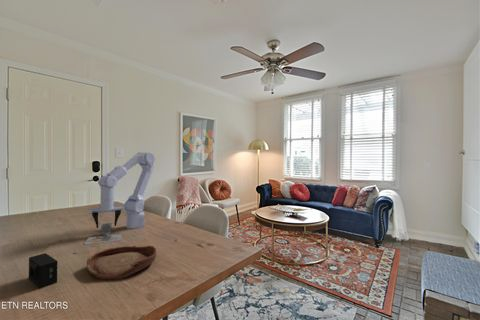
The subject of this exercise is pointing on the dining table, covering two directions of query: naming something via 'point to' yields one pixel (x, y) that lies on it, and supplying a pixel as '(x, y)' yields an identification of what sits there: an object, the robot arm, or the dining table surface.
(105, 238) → the flange plate
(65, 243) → the dining table surface
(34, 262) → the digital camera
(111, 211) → the robot arm
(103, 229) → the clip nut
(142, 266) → the basket
